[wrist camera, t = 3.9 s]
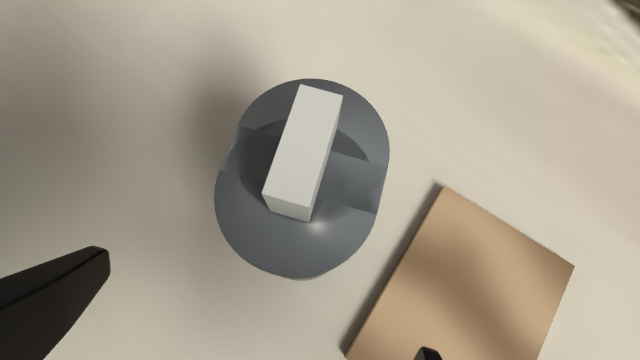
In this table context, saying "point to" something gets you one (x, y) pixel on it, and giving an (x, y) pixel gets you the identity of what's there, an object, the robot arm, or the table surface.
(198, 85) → the table surface
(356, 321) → the table surface
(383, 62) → the table surface
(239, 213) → the grey tall rounded piece
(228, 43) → the table surface
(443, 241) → the cork pad
